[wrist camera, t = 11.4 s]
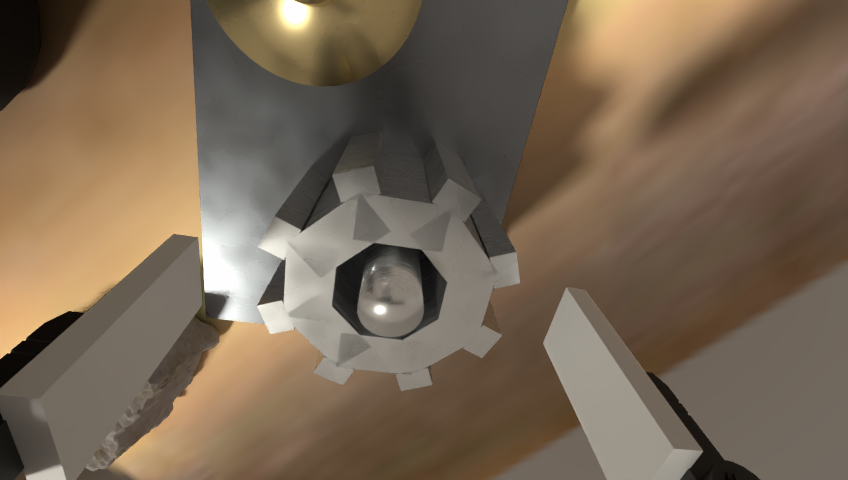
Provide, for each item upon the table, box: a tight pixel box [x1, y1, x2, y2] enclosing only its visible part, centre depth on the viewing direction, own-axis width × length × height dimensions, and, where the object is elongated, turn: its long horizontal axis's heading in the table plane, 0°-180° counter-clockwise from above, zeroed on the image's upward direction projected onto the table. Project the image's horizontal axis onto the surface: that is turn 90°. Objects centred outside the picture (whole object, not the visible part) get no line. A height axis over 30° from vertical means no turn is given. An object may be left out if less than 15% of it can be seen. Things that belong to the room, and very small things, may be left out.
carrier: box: [190, 0, 568, 337], centre depth 16 cm, size 22×15×8 cm
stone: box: [85, 317, 219, 471], centre depth 23 cm, size 10×8×6 cm
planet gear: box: [257, 131, 520, 391], centre depth 18 cm, size 10×10×6 cm
